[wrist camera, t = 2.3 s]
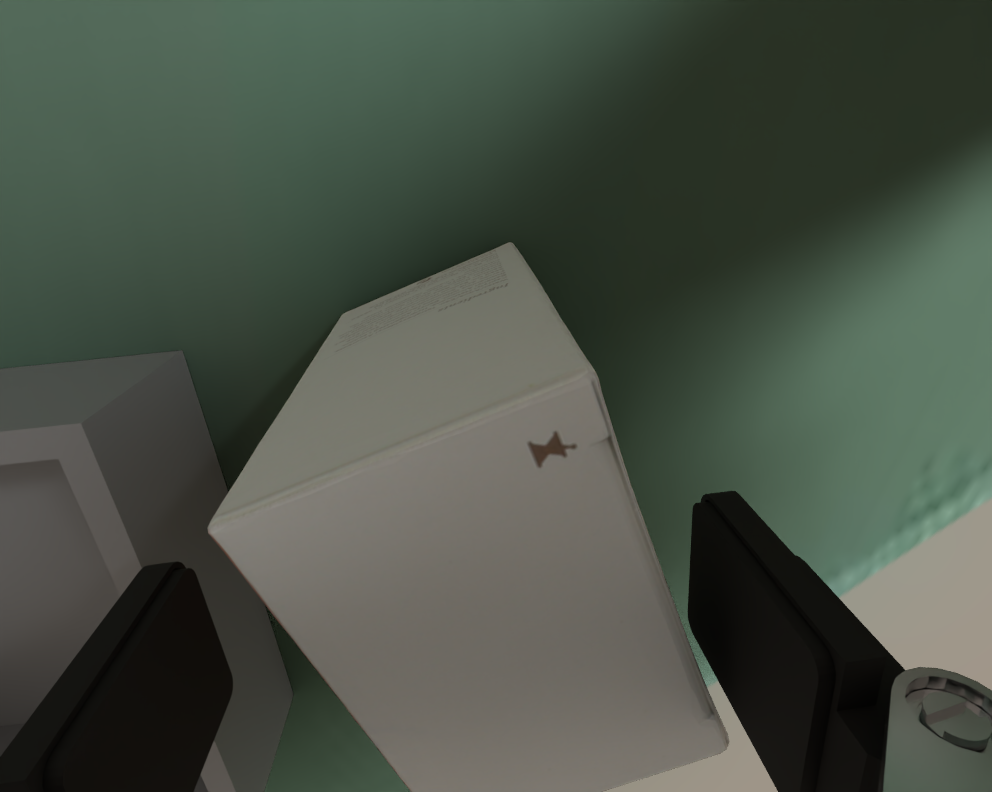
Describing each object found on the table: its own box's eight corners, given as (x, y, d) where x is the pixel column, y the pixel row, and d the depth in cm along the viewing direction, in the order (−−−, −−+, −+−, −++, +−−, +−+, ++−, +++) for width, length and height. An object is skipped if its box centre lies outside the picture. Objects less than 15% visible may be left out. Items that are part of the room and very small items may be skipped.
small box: (340, 310, 17) (182, 520, 7) (515, 235, 16) (595, 356, 7) (449, 516, 20) (441, 855, 10) (600, 459, 19) (739, 761, 10)
